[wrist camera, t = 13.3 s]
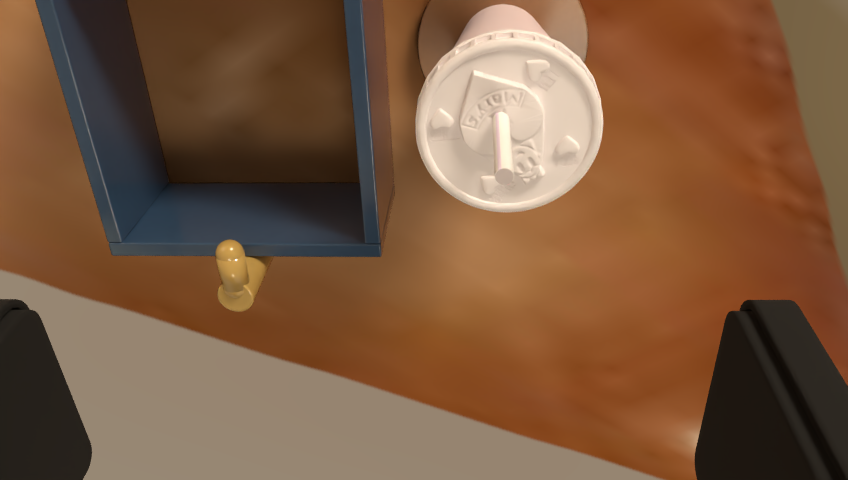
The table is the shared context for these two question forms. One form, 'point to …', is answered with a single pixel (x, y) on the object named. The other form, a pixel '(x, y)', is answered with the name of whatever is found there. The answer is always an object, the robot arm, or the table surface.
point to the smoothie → (508, 115)
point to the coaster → (458, 3)
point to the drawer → (215, 202)
